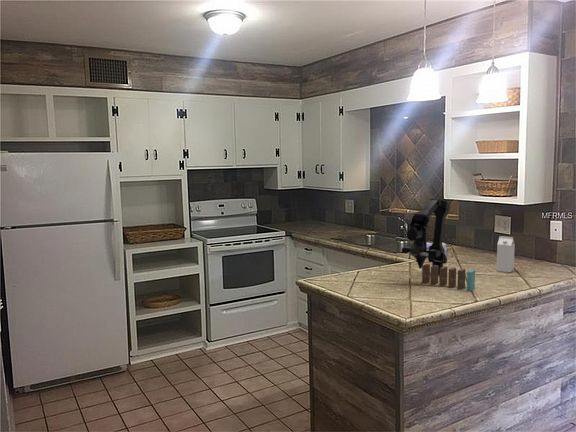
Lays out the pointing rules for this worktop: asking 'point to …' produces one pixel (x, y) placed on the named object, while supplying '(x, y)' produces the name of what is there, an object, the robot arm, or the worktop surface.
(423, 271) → the walnut domino
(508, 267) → the milk carton
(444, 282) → the walnut domino
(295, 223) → the worktop surface
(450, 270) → the walnut domino
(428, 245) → the pencil case
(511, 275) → the worktop surface
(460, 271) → the walnut domino
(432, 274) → the walnut domino
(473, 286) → the teal domino
